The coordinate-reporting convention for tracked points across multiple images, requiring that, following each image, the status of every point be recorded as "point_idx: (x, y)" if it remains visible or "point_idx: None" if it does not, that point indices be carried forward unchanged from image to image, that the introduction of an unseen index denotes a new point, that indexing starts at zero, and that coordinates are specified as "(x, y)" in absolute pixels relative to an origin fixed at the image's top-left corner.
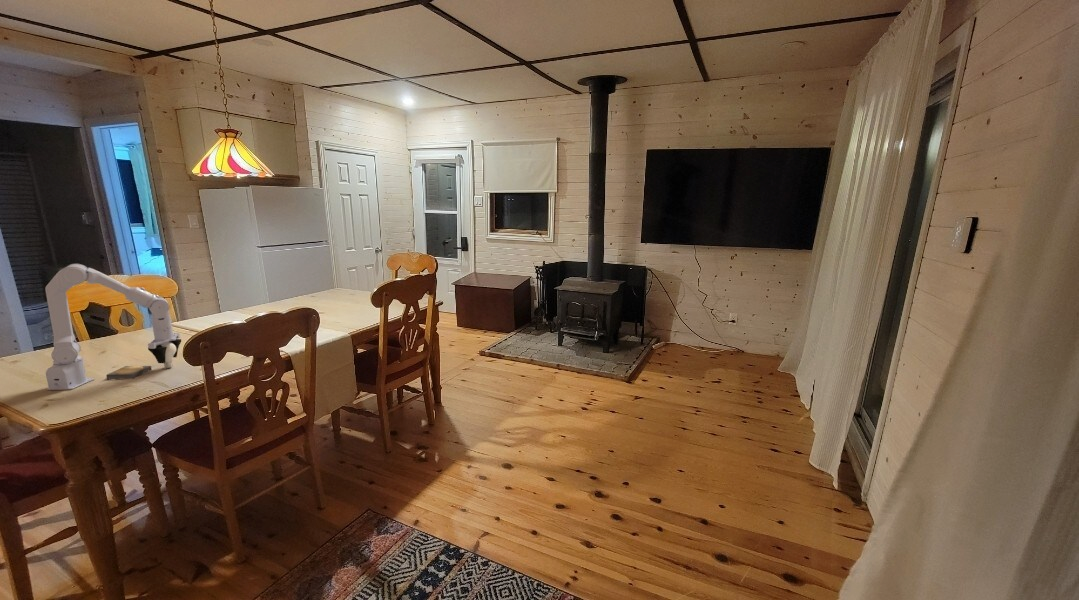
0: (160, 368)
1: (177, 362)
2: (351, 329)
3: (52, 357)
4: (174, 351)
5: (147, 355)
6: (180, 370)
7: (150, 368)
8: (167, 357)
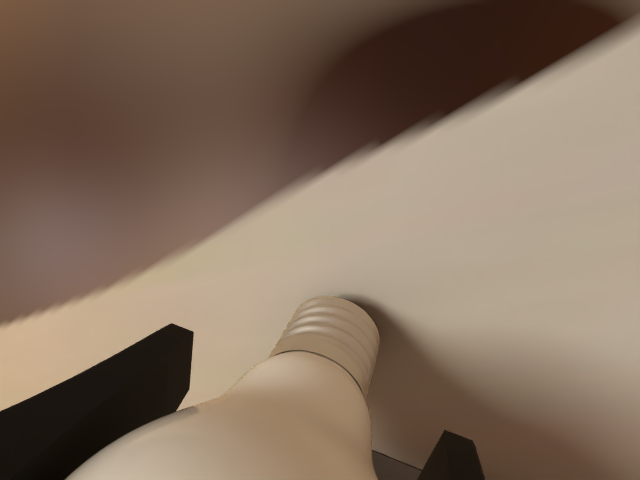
0: None
1: (154, 275)
2: None
3: None
4: (268, 477)
5: None
6: (523, 162)
7: None
8: (372, 468)
